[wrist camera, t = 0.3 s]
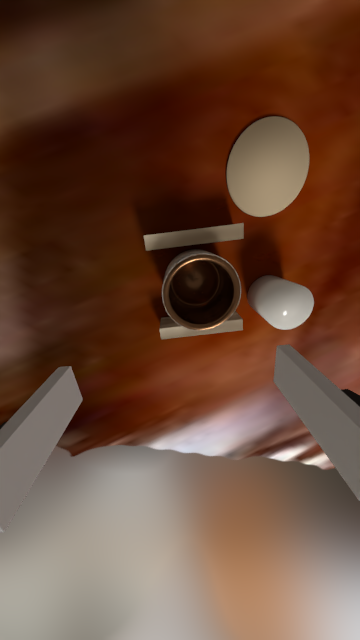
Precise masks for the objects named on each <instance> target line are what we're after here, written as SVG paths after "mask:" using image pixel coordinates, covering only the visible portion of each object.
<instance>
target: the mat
mask: <svg viewBox="0 0 360 640" xmlns="http://www.w3.org/2000/svg"><path fill="white" fill-rule="evenodd" d="M308 167H309V150H308V145H307V141H306V139H305V136H304V134H303V133H302V131H301V130H300V128H299V127H298V126H297V125H296V124H295V123H293V122H292V121H290V120H288V119H286V118H283V117H277V116H274V117H267V118H263V119H261V120H258V121H257V122H255V123H253V124H252V125H250V126H249V127H248V128H247V129H246V130H245V131H244V132H243V133H242V134H241V135H240V137H239V138H238V140H237V141H236V143H235V144H234V146H233V149H232V151H231V153H230V156H229V159H228V163H227V171H226V179H227V186H228V190H229V194H230V196H231V198H232V200H233V201H234V203H235V204H236V205H237V207H238V208H239V209H241V210H242V211H243V212H245V213H247V214H249V215H252V216H257V217H264V216H269V215H273V214H276V213H278V212H280V211H281V210H283V209H284V208H286V207H287V206H288V205H289V204H290V203H291V202H292V201H293V200H294V199H295V198H296V196H297V195H298V194H299V192H300V190H301V189H302V187H303V185H304V182H305V179H306V176H307V173H308Z"/></svg>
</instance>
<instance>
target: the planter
mask: <svg viewBox="0 0 360 640" xmlns="http://www.w3.org/2000/svg"><path fill="white" fill-rule="evenodd" d="M240 297H241V283H240V279H239V276H238V274H237V272H236V270H235V269H234V268H233V266H232V265H231V264H230V263H229V262H228V261H226V260H225V259H223V258H222V257H220V256H217V255H215V254H213V253H211V252H208V251H205V250H201V249H192V250H187V251H184V252H182V253H180V254H179V255H177V256H176V257H175V258H174V259H173V260H172V261H171V262H170V264H169V265H168V267H167V270H166V272H165V276H164V282H163V287H162V300H163V304H164V307H165V310H166V311H167V313H168V315H169V316H170V317H171V318H172V320H174V321H175V322H176V323H177V324H179V325H180V326H182V327H184V328H187V329H190V330H197V331H202V330H209V329H213V328H215V327H218V326H219V325H221V324H223V323H224V322H225V321H227V320H228V319H229V318H230V317H231V316H232V314H233V313H234V312H235V310H236V308H237V306H238V304H239V301H240Z"/></svg>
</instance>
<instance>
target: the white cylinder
mask: <svg viewBox="0 0 360 640" xmlns="http://www.w3.org/2000/svg"><path fill="white" fill-rule="evenodd" d="M247 299H248V303H249V305H250V306H251V307H252V308H253V309H254V310H255V311H256V312H257V313H259V314H260V315H261V316H262V317H263V318H264V319H265V320H266V321H268V322H269V323H270V324H271V325H272V326H274V327H275V328H278V329H284V330H285V329H292V328H295V327H297V326H299V325H300V324H302V323H303V322H304V321H305V320H306V319H307V318H308V317H309V315H310V314H311V312H312V309H313V305H314V299H313V296H312V293H311V292H310V291H309V290H308V289H307V288H306V287H304V286H301V285H299V284H296V283H293V282H290V281H288V280H285V279H282V278H279V277H277V276H273V275H266V276H262V277H260V278H258V279H257V280H255V281H254V282H253V283H252V285H251V286H250V288H249V290H248V295H247Z"/></svg>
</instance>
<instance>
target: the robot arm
mask: <svg viewBox="0 0 360 640" xmlns="http://www.w3.org/2000/svg"><path fill="white" fill-rule="evenodd" d="M274 383H275V384H276V385H277V387H278V388H279V390H280V391H281V392H282V394H283V395H284V397H285V398H286V399H287V401H288V402H289V404H290V405H291V406H292V408H293V409H294V410H295V412H296V413H297V415H298V416H299V417H300V419H301V420H302V422H303V423H304V424H305V426H306V427H307V429H308V430H309V431H310V433H311V434H312V436H313V437H314V438H315V440H316V441H317V443H318V444H319V445H320V447H321V448H322V449H323V451H324V452H325V454H326V455H327V456H328V458H329V459H330V461H331V462H332V463H333V465H334V466H335V468H336V469H337V470H338V472H339V473H340V474H341V476H342V477H343V479H344V480H345V482H346V483H347V484H348V486H349V487H350V488H351V490H352V491H353V493H354V494H355V495H356V497H357V498H358V500H359V501H360V395H358V394H356V393H354V392H352V391H350V390H348V389H345V390H340V389H339V388H338V387H337V386H336V385H334V384H333V383H332V382H331V381H330V380H329V379H328V378H327V377H325V376H324V375H323V374H322V373H321V372H320V371H319V370H317V369H316V368H315V367H314V366H313V365H312V364H311V363H310V362H308V361H307V360H306V359H305V358H304V357H303V356H302V355H300V354H299V353H298V352H297V351H296V350H295V349H294V348H293V347H291V346H290V345H279V346H277V350H276V361H275V372H274ZM82 400H83V399H82V396H81V393H80V391H79V388H78V385H77V382H76V379H75V377H74V374H73V371H72V368H71V366H65V367H58V369H57V370H56V371H55V372H54V373H53V374H52V375H51V376H50V377H49V378H48V379H47V380H46V381H45V382H44V383H43V384H42V386H41V387H40V388H39V389H38V390H37V391H36V392H35V393H34V394H33V395H32V396H31V397H30V398H29V399H28V400H27V402H26V403H25V404H24V405H23V406H22V407H21V408H20V409H19V410H18V411H17V412H16V413H15V414H14V415H13V416H12V417H11V419H10V420H9V421H8V422H4V423H3V424H2V425H0V532H5V530H6V529H7V527H8V525H9V524H10V522H11V520H12V519H13V517H14V515H15V513H16V512H17V510H18V508H19V507H20V505H21V503H22V502H23V500H24V498H25V497H26V495H27V493H28V491H29V490H30V488H31V486H32V485H33V483H34V481H35V480H36V478H37V476H38V475H39V473H40V471H41V469H42V468H43V466H44V464H45V463H46V461H47V459H48V458H49V456H50V454H51V453H52V451H53V449H54V447H55V446H56V444H57V442H58V441H59V439H60V437H61V436H62V434H63V432H64V431H65V429H66V427H67V425H68V424H69V422H70V420H71V419H72V417H73V415H74V414H75V412H76V410H77V409H78V407H79V405H80V403H81V402H82Z"/></svg>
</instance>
